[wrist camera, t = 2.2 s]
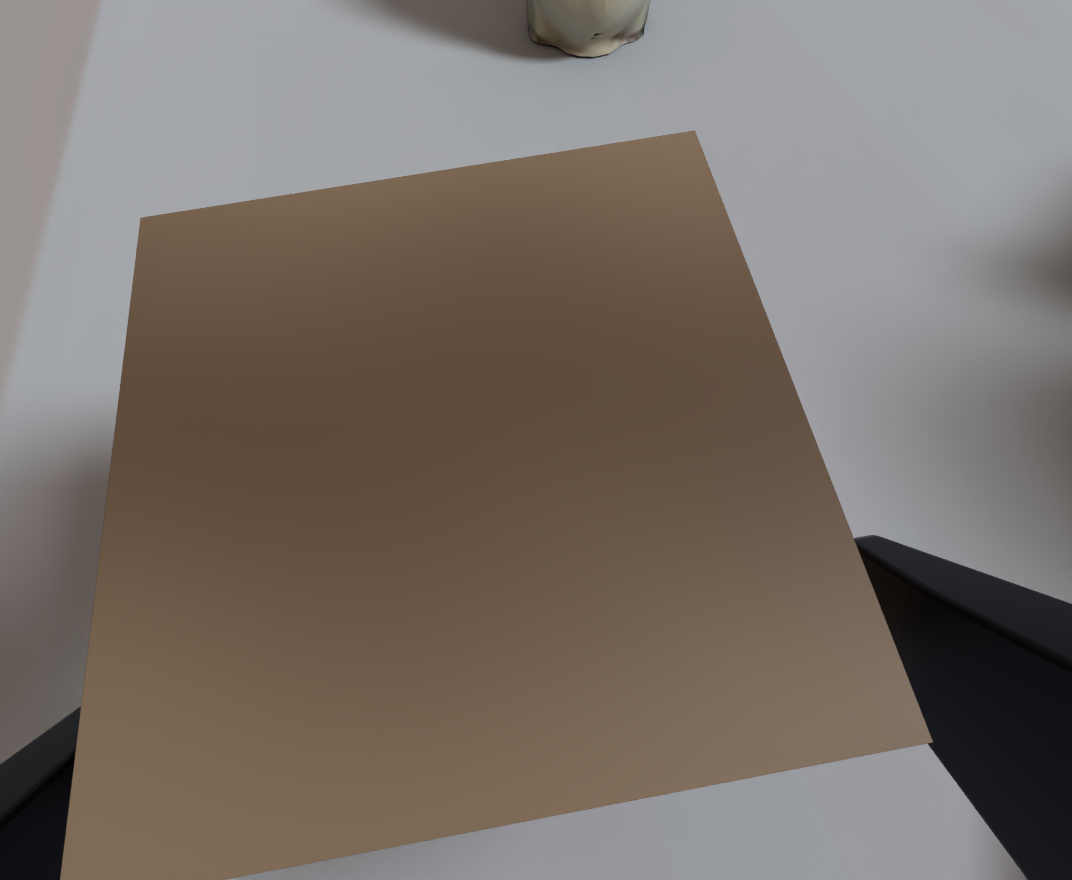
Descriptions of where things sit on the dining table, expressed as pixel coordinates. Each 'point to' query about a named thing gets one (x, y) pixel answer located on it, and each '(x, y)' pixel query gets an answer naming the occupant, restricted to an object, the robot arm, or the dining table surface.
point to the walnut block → (458, 523)
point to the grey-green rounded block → (586, 24)
